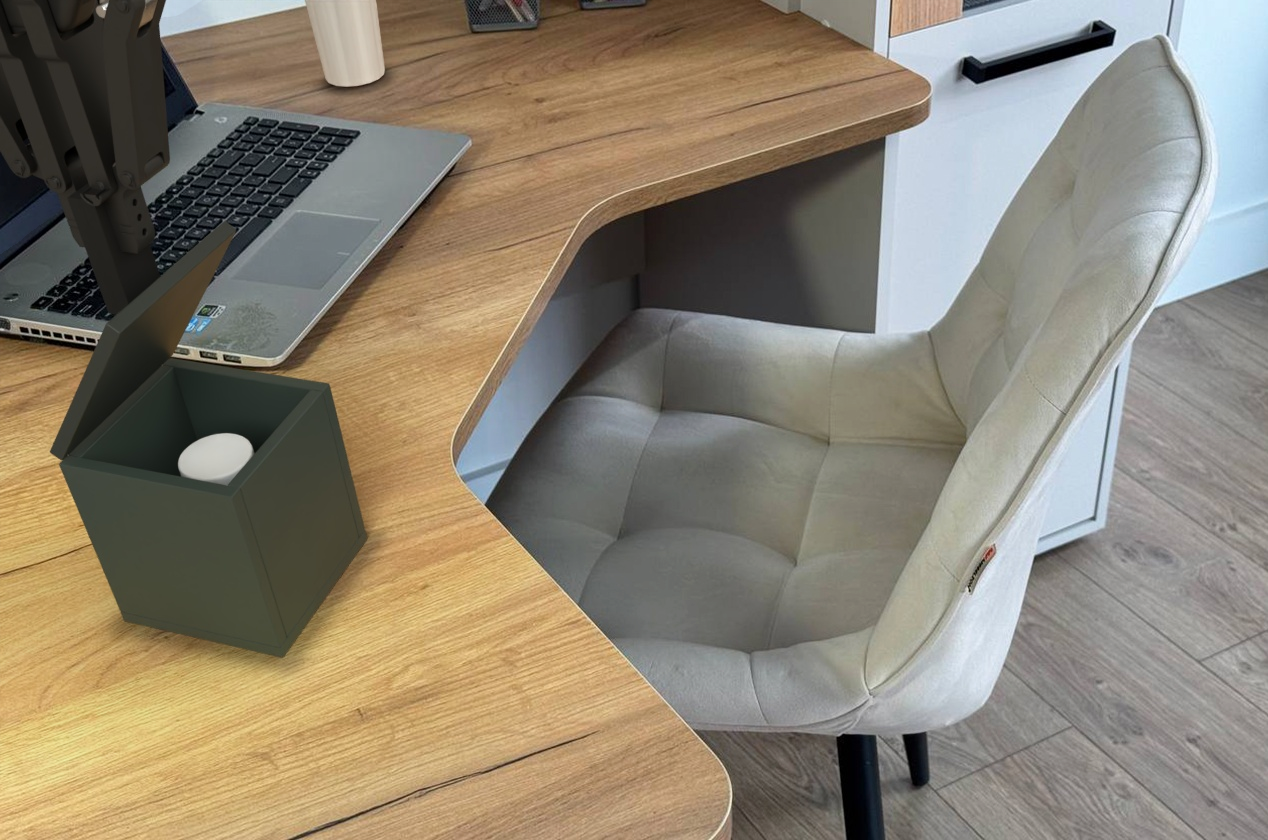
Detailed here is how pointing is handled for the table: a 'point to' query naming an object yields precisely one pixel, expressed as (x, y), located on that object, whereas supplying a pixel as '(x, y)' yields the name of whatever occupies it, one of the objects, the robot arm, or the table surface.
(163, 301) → the trash lid
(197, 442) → the pill bottle
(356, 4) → the cup
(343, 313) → the table surface
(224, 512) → the trash bin
